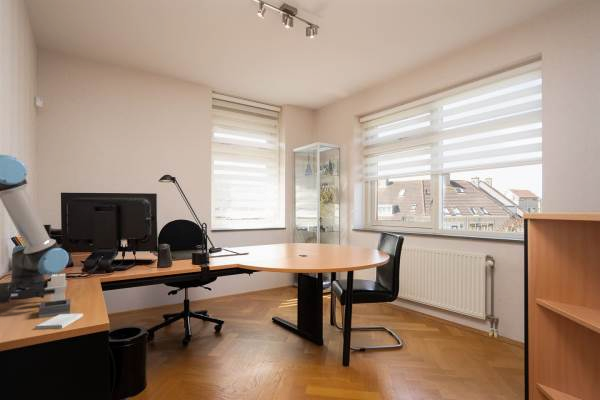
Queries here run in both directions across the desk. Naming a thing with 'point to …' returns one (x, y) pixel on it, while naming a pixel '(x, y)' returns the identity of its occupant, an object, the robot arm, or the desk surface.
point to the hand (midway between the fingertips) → (66, 286)
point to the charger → (57, 281)
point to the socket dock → (54, 308)
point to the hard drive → (59, 321)
